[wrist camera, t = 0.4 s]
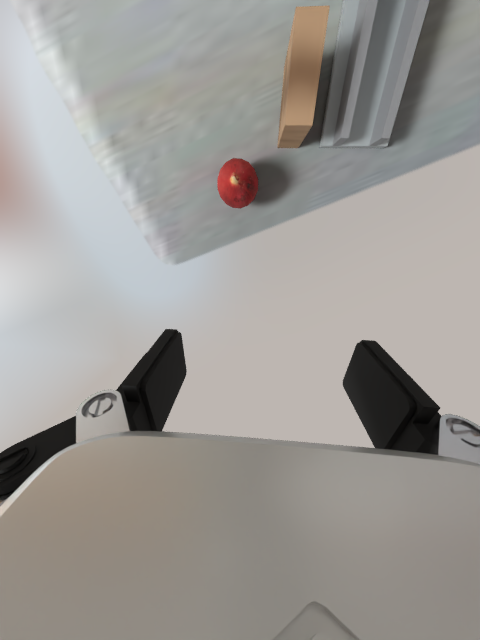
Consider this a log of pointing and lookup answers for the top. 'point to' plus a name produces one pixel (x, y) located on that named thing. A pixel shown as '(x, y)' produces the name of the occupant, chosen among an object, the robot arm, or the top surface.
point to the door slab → (302, 74)
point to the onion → (237, 183)
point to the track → (370, 70)
